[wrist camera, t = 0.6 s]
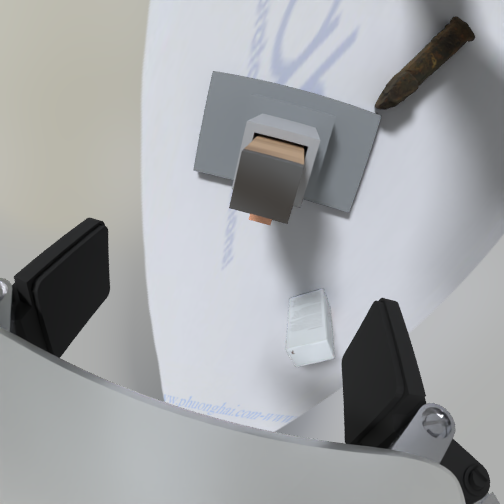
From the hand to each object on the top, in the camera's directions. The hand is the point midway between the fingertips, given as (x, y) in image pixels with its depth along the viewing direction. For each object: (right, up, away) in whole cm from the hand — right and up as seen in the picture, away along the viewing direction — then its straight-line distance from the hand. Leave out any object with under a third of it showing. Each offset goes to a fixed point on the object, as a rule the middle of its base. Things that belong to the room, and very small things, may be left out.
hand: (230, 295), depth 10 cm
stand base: (+5, +16, +30) cm, 34 cm away
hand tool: (+23, +26, +22) cm, 41 cm away
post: (+4, +13, +24) cm, 28 cm away
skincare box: (+10, -7, +41) cm, 43 cm away
